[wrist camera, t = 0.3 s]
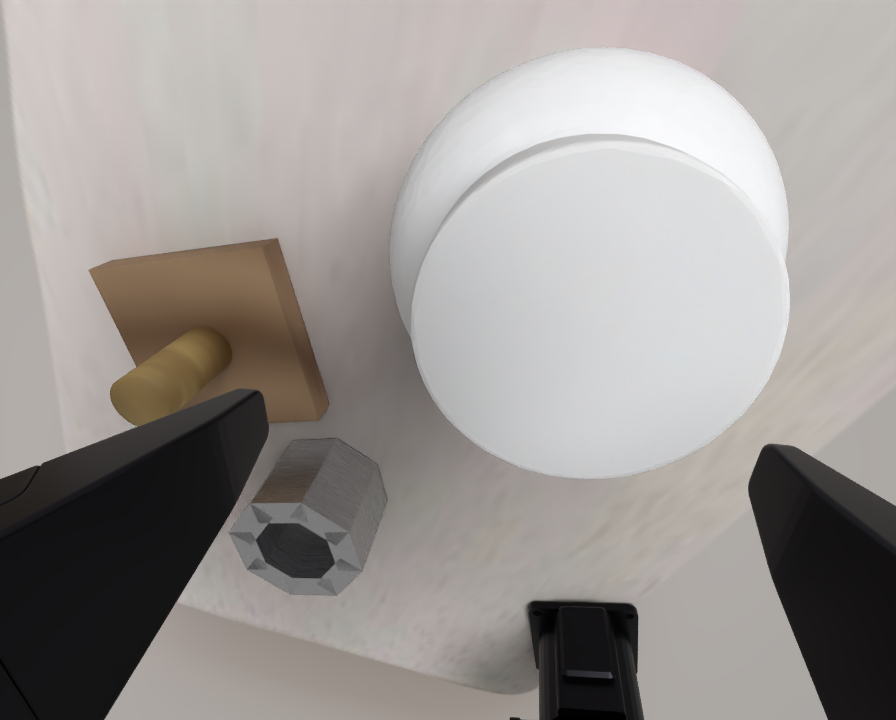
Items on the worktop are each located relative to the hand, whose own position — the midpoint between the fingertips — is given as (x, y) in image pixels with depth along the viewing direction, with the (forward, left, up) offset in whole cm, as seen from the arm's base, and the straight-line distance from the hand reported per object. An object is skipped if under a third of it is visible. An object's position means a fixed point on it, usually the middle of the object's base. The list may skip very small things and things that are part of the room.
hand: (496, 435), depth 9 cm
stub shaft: (-3, +15, -14) cm, 21 cm away
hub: (-13, +12, -14) cm, 23 cm away
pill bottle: (+2, -2, -14) cm, 14 cm away
